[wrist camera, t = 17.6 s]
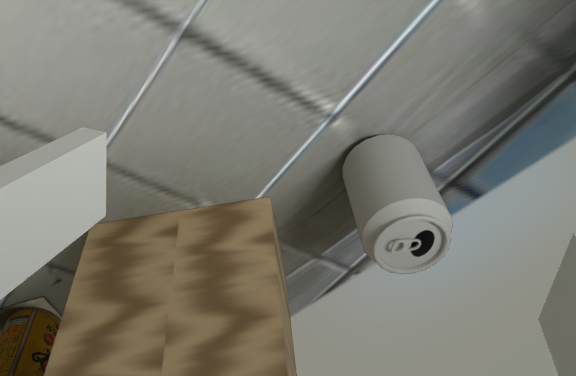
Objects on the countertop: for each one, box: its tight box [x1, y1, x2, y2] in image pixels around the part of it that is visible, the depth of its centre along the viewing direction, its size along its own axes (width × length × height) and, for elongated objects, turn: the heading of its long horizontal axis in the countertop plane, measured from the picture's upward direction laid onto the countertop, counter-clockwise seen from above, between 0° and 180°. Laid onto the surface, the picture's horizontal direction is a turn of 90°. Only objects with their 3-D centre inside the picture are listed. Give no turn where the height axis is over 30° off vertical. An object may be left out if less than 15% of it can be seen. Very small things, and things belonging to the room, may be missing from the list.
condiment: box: [0, 297, 62, 376], centre depth 57 cm, size 7×8×12 cm
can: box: [342, 135, 453, 274], centre depth 47 cm, size 8×8×12 cm
